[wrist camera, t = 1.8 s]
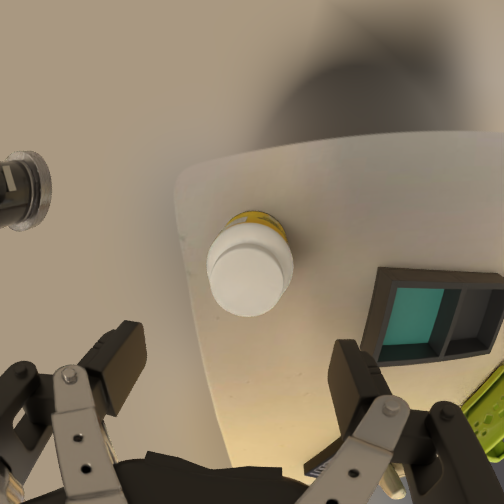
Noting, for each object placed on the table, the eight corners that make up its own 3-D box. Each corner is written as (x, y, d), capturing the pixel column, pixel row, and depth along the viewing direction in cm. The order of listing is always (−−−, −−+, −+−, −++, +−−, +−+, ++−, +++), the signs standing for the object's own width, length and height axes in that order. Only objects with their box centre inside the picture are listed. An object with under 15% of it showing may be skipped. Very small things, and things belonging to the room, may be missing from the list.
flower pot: (448, 410, 36) (477, 459, 24) (503, 350, 32) (543, 391, 20) (473, 425, 38) (497, 465, 25) (519, 375, 34) (550, 410, 22)
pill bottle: (291, 266, 30) (305, 321, 19) (229, 277, 31) (210, 336, 19) (279, 203, 28) (289, 224, 17) (215, 216, 29) (184, 245, 18)
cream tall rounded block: (406, 460, 40) (416, 489, 32) (389, 474, 41) (398, 502, 33) (386, 460, 39) (396, 491, 32) (369, 473, 41) (377, 504, 33)
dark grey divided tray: (359, 348, 32) (368, 367, 28) (377, 266, 30) (392, 280, 26) (475, 339, 32) (489, 353, 28) (497, 273, 29) (514, 283, 25)
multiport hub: (379, 425, 36) (383, 435, 34) (321, 469, 40) (322, 479, 38) (361, 419, 36) (364, 429, 34) (302, 465, 39) (303, 475, 37)
